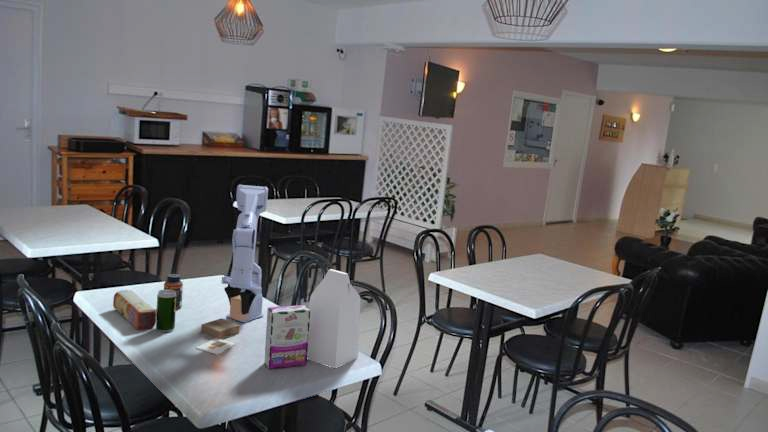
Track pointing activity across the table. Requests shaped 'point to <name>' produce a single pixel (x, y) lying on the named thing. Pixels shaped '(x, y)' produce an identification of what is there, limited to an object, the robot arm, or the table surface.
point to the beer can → (166, 310)
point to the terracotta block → (237, 308)
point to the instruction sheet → (216, 346)
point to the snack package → (134, 309)
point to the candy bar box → (287, 336)
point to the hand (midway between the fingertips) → (239, 311)
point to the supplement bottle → (175, 287)
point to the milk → (334, 321)
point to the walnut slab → (220, 328)
